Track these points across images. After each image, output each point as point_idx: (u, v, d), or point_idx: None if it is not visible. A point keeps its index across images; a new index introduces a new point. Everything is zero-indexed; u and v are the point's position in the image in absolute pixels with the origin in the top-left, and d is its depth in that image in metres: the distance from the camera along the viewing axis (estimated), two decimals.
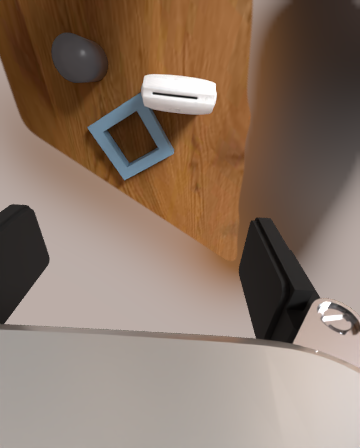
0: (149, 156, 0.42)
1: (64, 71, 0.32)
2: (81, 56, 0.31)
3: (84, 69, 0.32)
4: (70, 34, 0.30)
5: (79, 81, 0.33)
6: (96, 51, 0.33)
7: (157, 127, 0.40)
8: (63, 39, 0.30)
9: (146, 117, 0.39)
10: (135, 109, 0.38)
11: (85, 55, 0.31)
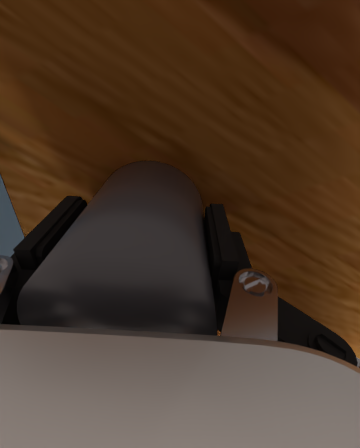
0: None
1: (88, 281, 0.05)
2: None
3: None
4: None
5: (22, 304, 0.06)
6: None
7: None
8: None
9: None
10: None
11: None
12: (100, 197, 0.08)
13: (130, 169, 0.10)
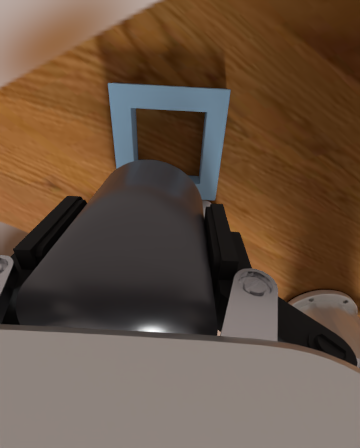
0: (131, 160, 0.24)
1: (87, 279, 0.05)
2: None
3: None
4: None
5: (21, 303, 0.06)
6: None
7: None
8: None
9: None
10: (202, 183, 0.25)
11: None
12: (100, 196, 0.08)
13: (130, 168, 0.10)
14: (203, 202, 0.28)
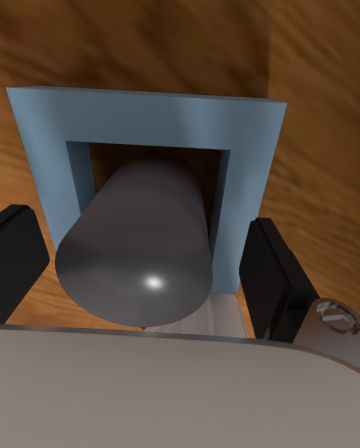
0: None
1: (113, 233, 0.07)
2: (127, 303, 0.09)
3: (89, 289, 0.09)
4: (190, 311, 0.09)
5: (60, 255, 0.08)
6: None
7: None
8: (194, 290, 0.08)
9: None
10: (215, 270, 0.14)
11: (123, 311, 0.09)
12: (116, 176, 0.10)
13: (139, 156, 0.12)
14: None
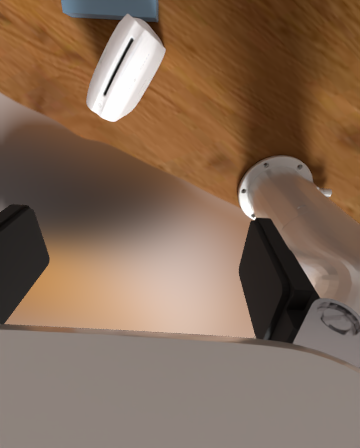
0: None
1: None
2: None
3: None
4: None
5: None
6: None
7: (107, 12, 0.27)
8: None
9: (125, 3, 0.27)
10: None
11: None
12: None
13: None
14: None
